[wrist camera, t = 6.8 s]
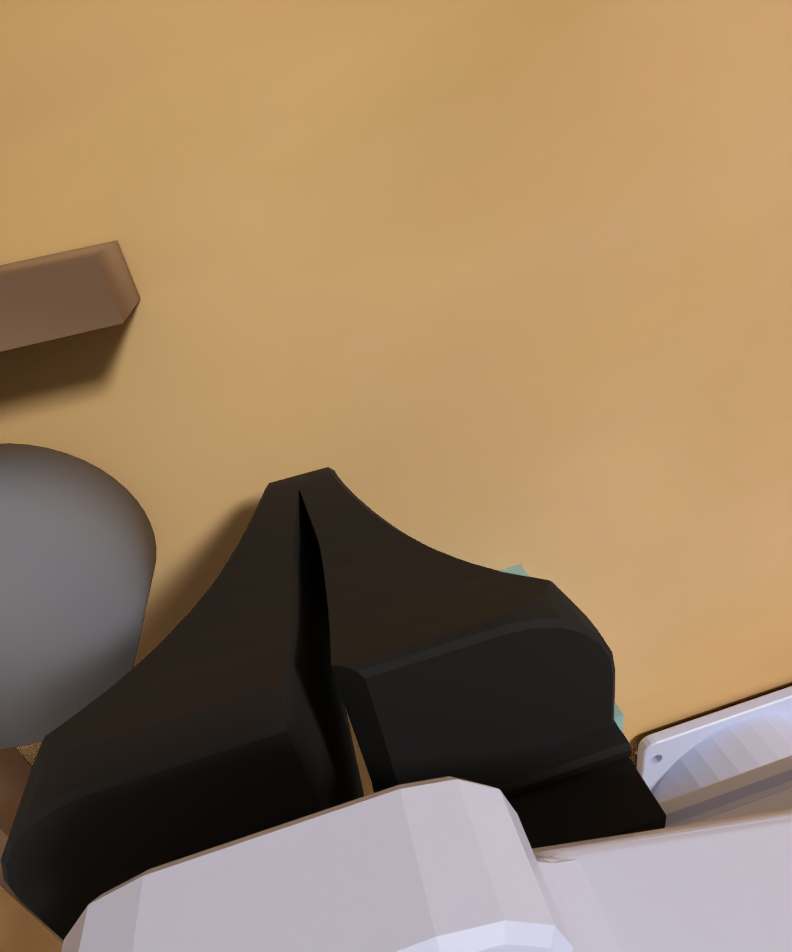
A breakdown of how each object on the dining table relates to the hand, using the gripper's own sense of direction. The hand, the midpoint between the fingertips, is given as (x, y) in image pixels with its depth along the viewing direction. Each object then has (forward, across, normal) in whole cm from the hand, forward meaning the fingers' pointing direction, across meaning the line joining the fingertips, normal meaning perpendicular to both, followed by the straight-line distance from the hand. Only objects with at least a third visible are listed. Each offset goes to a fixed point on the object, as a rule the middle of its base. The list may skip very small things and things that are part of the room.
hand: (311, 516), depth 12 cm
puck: (+2, +6, 0) cm, 6 cm away
